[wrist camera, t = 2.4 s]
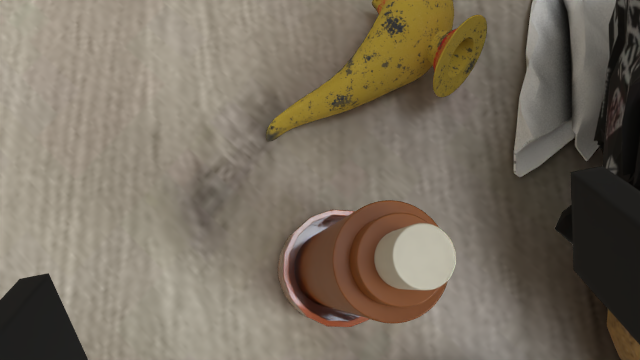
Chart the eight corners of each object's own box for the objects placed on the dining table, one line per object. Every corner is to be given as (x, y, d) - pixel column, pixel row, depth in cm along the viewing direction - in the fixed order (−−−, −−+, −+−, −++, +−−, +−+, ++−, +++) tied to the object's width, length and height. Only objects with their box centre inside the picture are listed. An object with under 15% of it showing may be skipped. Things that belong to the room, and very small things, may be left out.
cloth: (673, -119, 42) (697, -141, 40) (779, 23, 41) (809, 8, 39) (414, 31, 36) (426, 15, 34) (530, 200, 35) (550, 195, 33)
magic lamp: (359, 217, 33) (243, 133, 38) (531, 8, 35) (399, -45, 40) (329, 171, 27) (196, 78, 32) (538, -78, 29) (382, -127, 34)
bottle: (309, 317, 31) (384, 356, 15) (283, 246, 32) (331, 211, 16) (377, 290, 32) (516, 300, 16) (351, 221, 33) (461, 165, 17)
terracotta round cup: (298, 336, 32) (306, 344, 28) (263, 238, 32) (267, 232, 29) (392, 299, 33) (413, 301, 29) (356, 204, 34) (372, 195, 30)
